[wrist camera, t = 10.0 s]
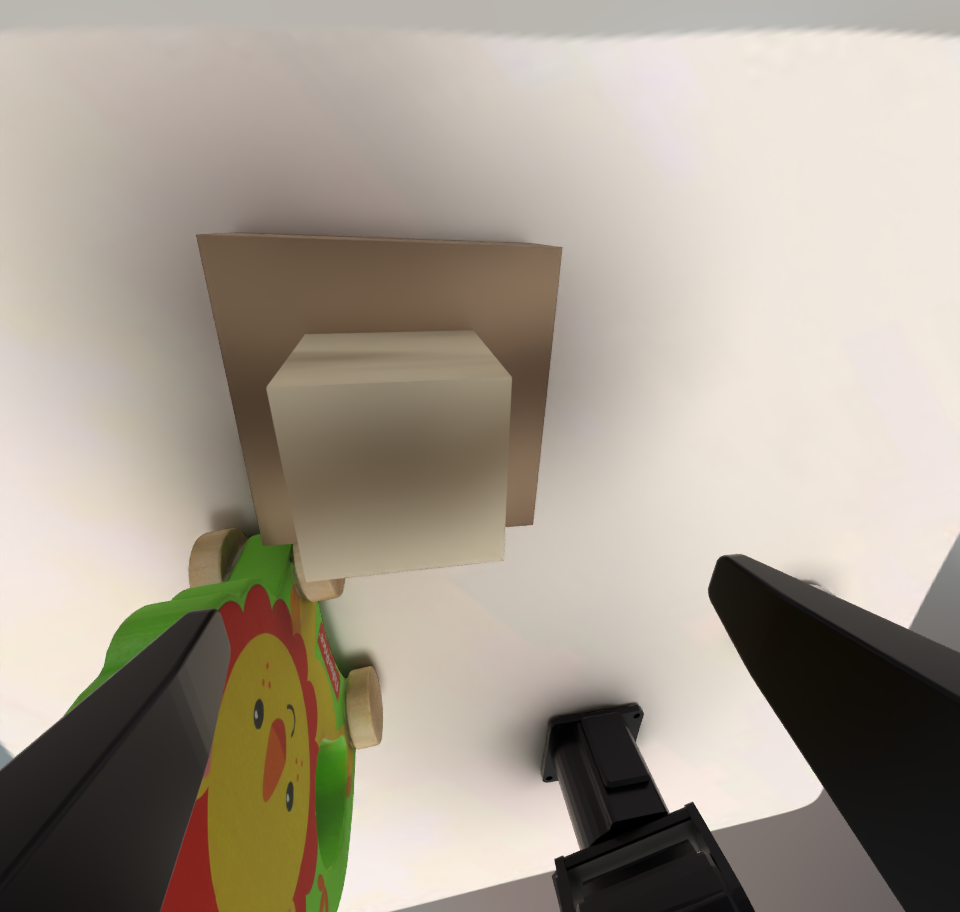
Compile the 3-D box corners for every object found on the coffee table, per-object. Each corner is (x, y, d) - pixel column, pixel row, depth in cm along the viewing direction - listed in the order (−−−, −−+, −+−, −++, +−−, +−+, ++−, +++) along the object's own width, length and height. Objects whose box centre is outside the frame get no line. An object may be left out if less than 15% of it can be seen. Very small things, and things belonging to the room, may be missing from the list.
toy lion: (388, 693, 26) (392, 1179, 13) (290, 714, 26) (187, 1249, 12) (322, 446, 19) (173, 977, 6) (182, 466, 18) (-371, 1130, 5)
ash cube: (472, 471, 17) (503, 560, 12) (328, 482, 16) (306, 582, 11) (473, 330, 14) (511, 377, 10) (305, 333, 13) (266, 387, 9)
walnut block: (508, 476, 22) (532, 524, 18) (284, 489, 20) (262, 546, 16) (526, 242, 17) (562, 247, 14) (238, 232, 15) (196, 234, 12)
